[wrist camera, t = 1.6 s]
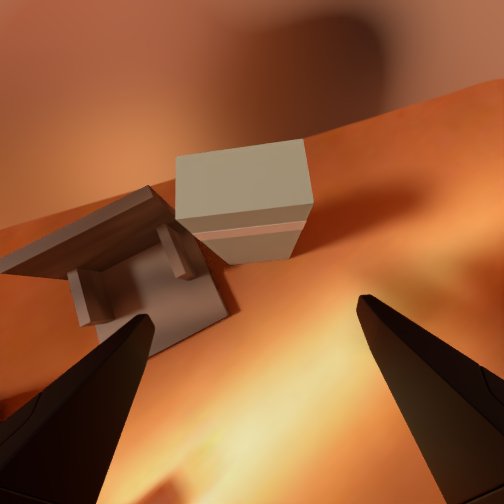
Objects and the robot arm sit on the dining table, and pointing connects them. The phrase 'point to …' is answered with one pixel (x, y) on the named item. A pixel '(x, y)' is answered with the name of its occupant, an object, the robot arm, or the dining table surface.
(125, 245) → the book rack
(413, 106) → the dining table surface
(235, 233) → the book
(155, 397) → the dining table surface
